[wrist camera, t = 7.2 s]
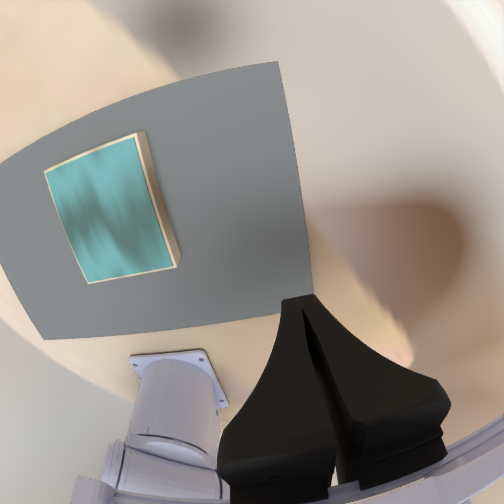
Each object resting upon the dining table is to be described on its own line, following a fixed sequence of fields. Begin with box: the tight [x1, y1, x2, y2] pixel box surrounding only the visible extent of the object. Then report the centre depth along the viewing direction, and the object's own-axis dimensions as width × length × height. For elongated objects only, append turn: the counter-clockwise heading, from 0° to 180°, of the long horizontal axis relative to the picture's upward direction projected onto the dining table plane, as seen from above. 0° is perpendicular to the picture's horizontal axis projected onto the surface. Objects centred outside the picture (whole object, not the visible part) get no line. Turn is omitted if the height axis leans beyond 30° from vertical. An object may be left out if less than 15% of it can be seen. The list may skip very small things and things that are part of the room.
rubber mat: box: [0, 61, 313, 340], centre depth 20 cm, size 18×28×1 cm, turn 101°
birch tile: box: [44, 131, 181, 284], centre depth 18 cm, size 9×2×8 cm
